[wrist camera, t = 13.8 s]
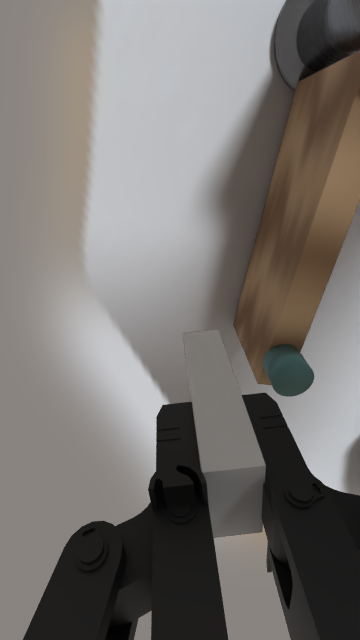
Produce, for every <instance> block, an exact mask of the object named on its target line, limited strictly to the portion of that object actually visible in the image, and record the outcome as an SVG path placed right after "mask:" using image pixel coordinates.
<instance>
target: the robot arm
mask: <svg viewBox="0 0 360 640" xmlns="http://www.w3.org/2000/svg"><path fill="white" fill-rule="evenodd" d="M183 338H184V348H185V358H186V368H187V378H188V388H189V395H190V402H186V403H177V404H168V405H163V406H162V408H161V409H160V411H159V413H158V415H157V446H156V448H157V449H156V450H157V451H156V472H155V473H154V475H153V476H152V478H151V480H150V484H149V489H148V491H149V495H150V500H151V503H150V504H149V505H148V507H147V508H146V509H145V510H144V511H142V513H140V514H138V515H137V516H135V517H134V518H132V519H130V520H128V521H125V522H123V523H121V524H119V525H117V526H114V525H113V524H111V523H108V522H105V521H95V522H91V523H89V524H87V525H85V526H82V527H81V528H80V529H79V530H78V531H77V532H75V533H74V534H73V535H72V536H71V538H70V539H69V541H68V542H67V544H66V546H65V547H64V550H63V552H62V554H61V556H60V558H59V561H58V563H57V565H56V567H55V569H54V572H53V574H52V576H51V579H50V581H49V583H48V585H47V587H46V589H45V592H44V594H43V596H42V598H41V601H40V603H39V605H38V608H37V610H36V612H35V614H34V616H33V618H32V621H31V623H30V625H29V627H28V630H27V632H26V634H25V636H24V639H23V640H134V636H135V631H136V627H137V622H138V618H139V617H141V616H143V615H144V614H146V613H148V612H150V611H151V610H152V628H151V629H152V630H151V640H228V635H227V628H226V622H225V615H224V608H223V601H222V594H221V587H220V581H219V573H218V567H217V561H216V553H215V546H214V540H213V538H215V537H225V536H233V535H241V534H249V533H259V532H262V527H263V525H264V528H265V532H266V535H267V539H268V548H267V572H272V571H273V575H274V579H275V583H276V586H277V590H278V594H279V597H280V601H281V605H282V608H283V612H284V616H285V620H286V623H287V626H288V631H289V634H290V638H291V640H360V496H359V495H354V494H349V493H343V492H340V491H337V490H334V489H331V488H329V487H327V486H325V485H324V484H323V483H322V482H321V481H320V480H318V479H317V478H316V477H314V476H313V475H312V474H311V472H310V470H309V469H308V467H307V465H306V463H305V461H304V459H303V457H302V455H301V453H300V451H299V449H298V446H297V444H296V442H295V440H294V438H293V436H292V434H291V432H290V430H289V428H288V427H287V423H286V421H285V419H284V417H283V416H282V413H281V411H280V409H279V407H278V405H277V402H275V401H274V400H273V399H272V398H271V397H270V396H269V395H268V394H266V393H258V394H249V395H241V392H240V389H239V387H238V384H237V381H236V378H235V375H234V372H233V369H232V366H231V363H230V361H229V358H228V355H227V352H226V349H225V346H224V343H223V340H222V337H221V335H220V332H219V329H216V330H207V331H198V332H189V333H183Z"/></svg>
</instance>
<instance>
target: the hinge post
mask: <svg viewBox="0 0 360 640" xmlns="http://www.w3.org/2000/svg"><path fill="white" fill-rule="evenodd" d="M274 51H275V59H276V63H277V67H278V69H279V72H280V74H281V76H282V78H283V79H284V81H285V82H286V83H287V85H288V86H289V87H290V88H291V89H293V90H294V91H295V90H296V86H297V83H298V82H299V81H301V80H303V79H305V78H307V77H309V76H311V75H313V74H315V73H317V72H319V71H321V70H323V69H325V68H326V67H328V66H330V65H332V64H334V63H336V62H338V61H340V60H342V59H344V58H346V57H348V56H350V55H352V54H354V53H356V52H358V51H360V0H286V2H285V4H284V6H283V8H282V10H281V13H280V16H279V18H278V22H277V26H276V31H275V40H274Z"/></svg>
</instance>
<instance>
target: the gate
mask: <svg viewBox="0 0 360 640" xmlns="http://www.w3.org/2000/svg"><path fill="white" fill-rule="evenodd" d="M359 201H360V51H358V52H356V53H354V54H352V55H350V56H348V57H346V58H344V59H342V60H340V61H338V62H336V63H334V64H332V65H330V66H328V67H326V68H325V69H323V70H321V71H319V72H317V73H315V74H313V75H311V76H309V77H307V78H305V79H303V80H301V81H299V82H298V83H297V86H296V90H295V94H294V98H293V102H292V105H291V109H290V113H289V117H288V120H287V124H286V128H285V132H284V135H283V139H282V143H281V147H280V151H279V154H278V158H277V162H276V166H275V169H274V173H273V177H272V181H271V184H270V188H269V192H268V196H267V200H266V203H265V207H264V211H263V215H262V218H261V222H260V226H259V230H258V234H257V237H256V241H255V245H254V249H253V252H252V256H251V260H250V264H249V267H248V271H247V275H246V279H245V283H244V286H243V290H242V294H241V298H240V301H239V305H238V309H237V313H236V317H235V320H234V324H233V325H234V328H235V330H236V333H237V335H238V337H239V340H240V342H241V345H242V347H243V349H244V352H245V354H246V357H247V359H248V361H249V364H250V366H251V368H252V371H253V373H254V376H255V378H256V380H257V383H258V384H266V385H272V386H273V388H274V390H275V391H276V392H277V393H278V394H280V395H282V396H296V395H299V394H301V393H303V392H305V391H306V390H307V389H308V388H309V387H310V386H311V384H312V383H313V380H314V373H313V371H312V369H311V368H310V366H309V365H308V363H307V362H306V360H305V359H304V358H303V356H302V355H301V353H300V351H301V349H302V346H303V344H304V341H305V339H306V336H307V334H308V331H309V329H310V326H311V323H312V321H313V318H314V316H315V313H316V311H317V308H318V306H319V303H320V301H321V298H322V295H323V293H324V290H325V288H326V285H327V283H328V280H329V278H330V275H331V273H332V270H333V268H334V265H335V262H336V260H337V257H338V255H339V252H340V250H341V247H342V245H343V242H344V240H345V237H346V234H347V232H348V229H349V227H350V224H351V222H352V219H353V217H354V214H355V212H356V209H357V207H358V204H359Z"/></svg>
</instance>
